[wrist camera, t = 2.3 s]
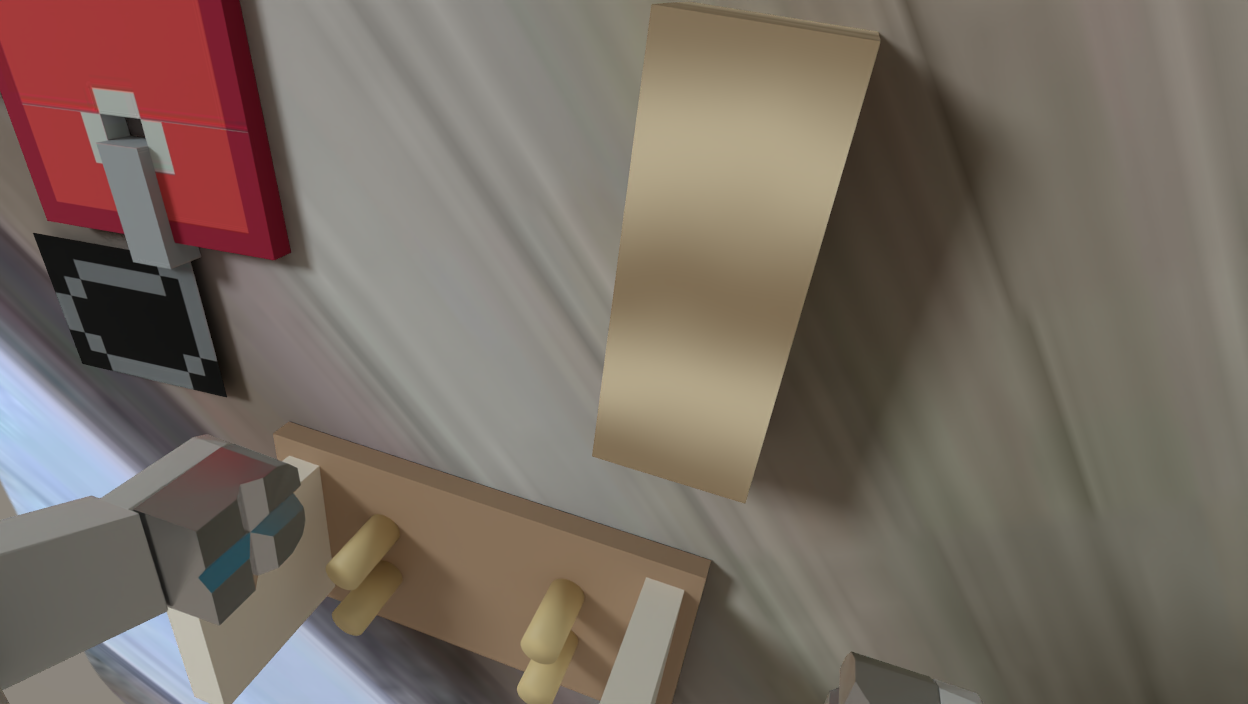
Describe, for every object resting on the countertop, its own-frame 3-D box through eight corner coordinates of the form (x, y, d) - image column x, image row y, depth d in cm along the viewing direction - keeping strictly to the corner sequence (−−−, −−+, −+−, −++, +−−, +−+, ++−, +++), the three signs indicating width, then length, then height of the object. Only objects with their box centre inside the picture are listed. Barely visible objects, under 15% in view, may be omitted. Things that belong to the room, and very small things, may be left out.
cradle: (711, 560, 27) (660, 749, 20) (670, 706, 32) (619, 896, 25) (288, 421, 31) (129, 541, 24) (312, 571, 36) (186, 704, 29)
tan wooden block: (690, 1, 18) (651, 4, 15) (877, 31, 17) (880, 41, 14) (629, 393, 25) (591, 456, 22) (762, 431, 24) (745, 503, 21)
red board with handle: (71, 348, 34) (329, 406, 30) (12, 375, 31) (285, 441, 28) (-279, -566, 19) (134, -645, 16) (-436, -645, 17) (10, -759, 14)
